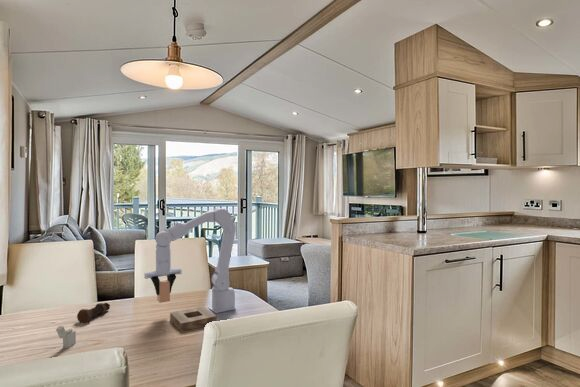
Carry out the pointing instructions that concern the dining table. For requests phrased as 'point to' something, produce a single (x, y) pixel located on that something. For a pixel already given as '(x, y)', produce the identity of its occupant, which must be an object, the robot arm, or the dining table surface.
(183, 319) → the slot block
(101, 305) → the dark brown elongated piece
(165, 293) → the peg
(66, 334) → the grey thin upright piece
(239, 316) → the dining table surface
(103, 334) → the dining table surface
